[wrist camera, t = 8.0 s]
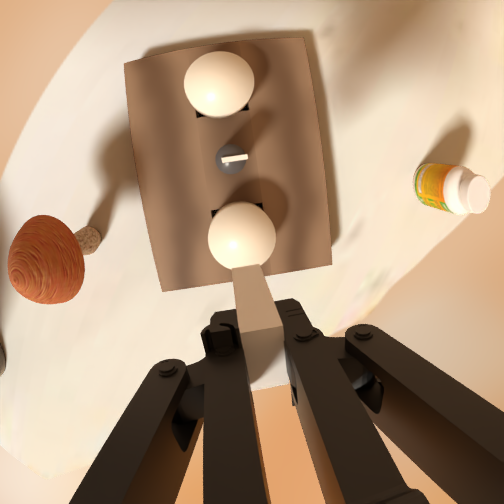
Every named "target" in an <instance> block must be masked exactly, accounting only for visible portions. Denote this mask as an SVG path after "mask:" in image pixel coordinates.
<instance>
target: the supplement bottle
mask: <svg viewBox="0 0 504 504" xmlns="http://www.w3.org/2000/svg"><path fill="white" fill-rule="evenodd" d="M413 190H414V194H415V196H416V198H417V199H418V200H419V201H420V202H421V203H422V204H424V205H427V206H430V207H434V208H437V209H440V210H444V211H447V212H450V213H453V214H457V215H466V214H468V213H470V212H473V213H477V214H479V213H482V212H483V211H485V209H486V208H487V206H488V204H489V201H490V186H489V183H488V181H487V180H486V178H485V177H483V176H481V175H476V174H474V173H473V172H472V171H471V170H470V169H468V168H466V167H463V166H455V165H445V164H435V163H426V164H423V165H422V166H420V167H419V168H418V169H417V171H416V172H415V175H414V178H413Z"/></svg>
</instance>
